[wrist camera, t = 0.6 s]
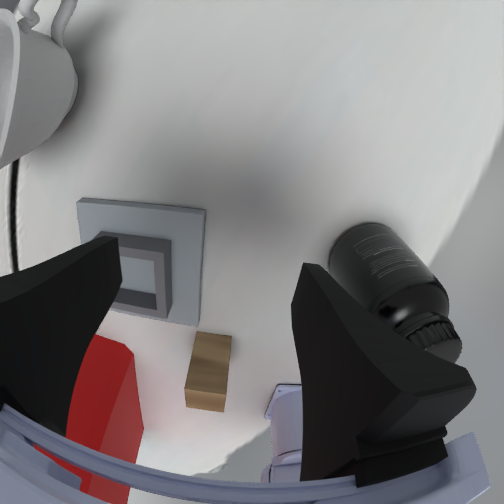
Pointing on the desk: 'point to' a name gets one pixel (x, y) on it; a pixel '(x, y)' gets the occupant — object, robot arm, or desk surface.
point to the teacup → (33, 79)
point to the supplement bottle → (395, 288)
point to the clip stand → (151, 256)
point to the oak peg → (208, 372)
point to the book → (105, 414)
